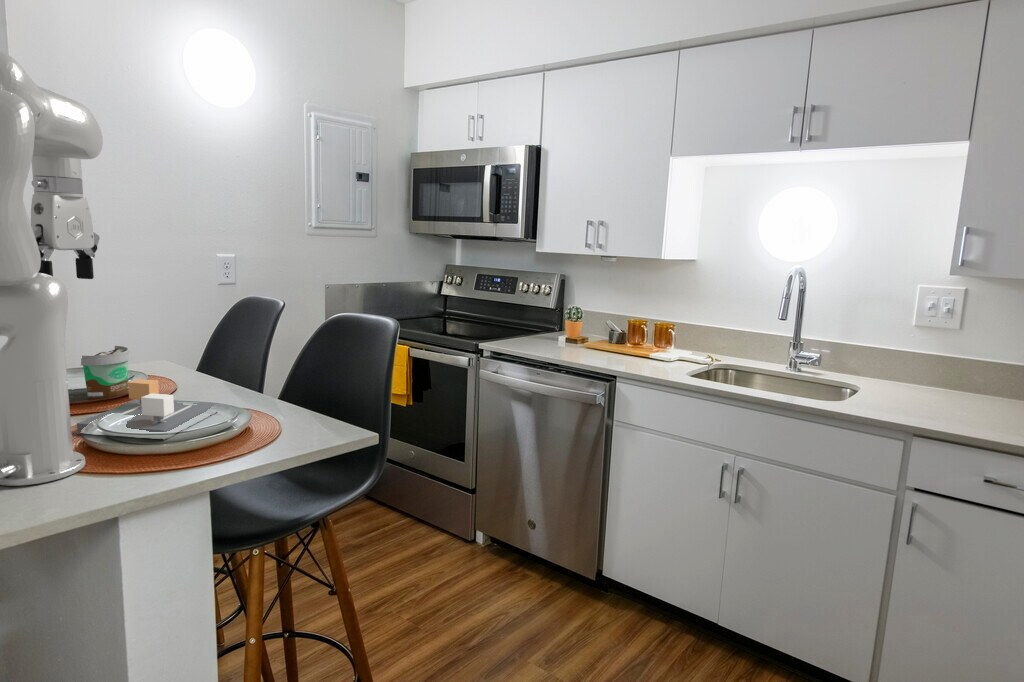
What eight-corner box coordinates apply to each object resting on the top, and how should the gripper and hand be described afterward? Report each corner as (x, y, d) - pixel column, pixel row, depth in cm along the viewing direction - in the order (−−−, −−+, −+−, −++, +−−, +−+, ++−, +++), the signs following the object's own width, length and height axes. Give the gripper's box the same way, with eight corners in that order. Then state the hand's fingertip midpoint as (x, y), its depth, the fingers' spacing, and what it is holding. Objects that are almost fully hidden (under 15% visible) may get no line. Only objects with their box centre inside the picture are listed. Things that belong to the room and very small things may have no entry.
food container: (111, 402, 139) (108, 357, 137) (83, 401, 139) (80, 356, 137) (145, 388, 151) (142, 346, 149) (119, 386, 151) (116, 345, 149)
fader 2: (164, 422, 121) (163, 399, 120) (142, 420, 121) (141, 397, 120) (174, 418, 124) (173, 394, 123) (152, 416, 124) (151, 393, 123)
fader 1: (150, 405, 130) (148, 384, 130) (129, 404, 131) (128, 382, 130) (159, 402, 133) (158, 380, 132) (139, 400, 134) (137, 378, 133)
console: (164, 440, 118) (163, 429, 118) (77, 433, 120) (76, 422, 119) (217, 412, 136) (217, 402, 135) (141, 406, 137) (140, 397, 137)
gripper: (37, 185, 110) (46, 285, 113) (111, 191, 127) (116, 278, 130) (-2, 184, 111) (7, 283, 114) (76, 190, 128) (82, 276, 131)
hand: (65, 280), depth 122 cm, fingers open, 9 cm apart
